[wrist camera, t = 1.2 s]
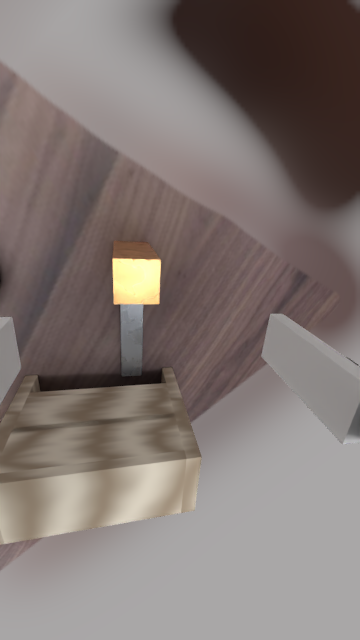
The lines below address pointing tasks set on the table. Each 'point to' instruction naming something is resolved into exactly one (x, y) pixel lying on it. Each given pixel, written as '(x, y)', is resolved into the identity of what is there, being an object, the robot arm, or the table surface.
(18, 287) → the table surface
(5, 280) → the table surface
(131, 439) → the wooden shelf
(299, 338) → the robot arm
